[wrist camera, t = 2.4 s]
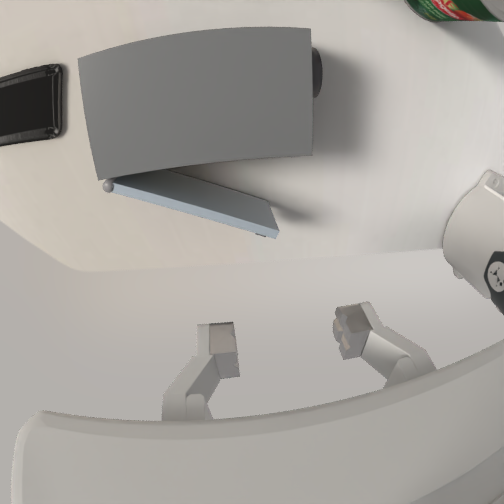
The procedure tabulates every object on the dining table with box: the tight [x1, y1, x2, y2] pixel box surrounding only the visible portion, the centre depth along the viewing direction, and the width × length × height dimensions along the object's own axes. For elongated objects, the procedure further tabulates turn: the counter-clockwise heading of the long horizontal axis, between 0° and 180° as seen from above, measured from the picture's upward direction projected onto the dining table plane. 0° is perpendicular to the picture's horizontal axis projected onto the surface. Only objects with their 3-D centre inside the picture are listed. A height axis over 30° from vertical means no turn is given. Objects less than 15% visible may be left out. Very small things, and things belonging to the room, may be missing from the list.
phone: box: [0, 64, 63, 146], centre depth 19 cm, size 8×1×15 cm
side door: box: [103, 169, 279, 239], centre depth 25 cm, size 15×2×6 cm, turn 68°
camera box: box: [78, 27, 322, 180], centre depth 20 cm, size 17×10×7 cm, turn 93°
